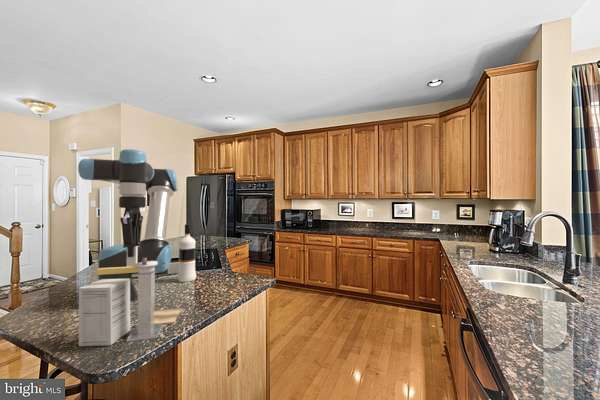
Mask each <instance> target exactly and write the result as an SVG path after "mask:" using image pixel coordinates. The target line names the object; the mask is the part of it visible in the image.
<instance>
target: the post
mask: <svg viewBox="0 0 600 400" xmlns="http://www.w3.org/2000/svg"><path fill="white" fill-rule="evenodd" d="M155 276H156V273H155V271H154V272H152V273H147V274H137V281H138V282H137V322H138V326H137V327H136V328H134V329H133V330H132V332H131V333H130V334H129V336H127V338H126V342H127V343H128V342H133V341H134V342H135V341H143V340H152V339H157V338H158V336H159V334H160V333H161V331H162V330H163V328H164V326H165V325H164V324H155V325H154V310H155V306H156V305H155V303H156V301H155V300H156V299H155V293H156V291H155V290H156V289H155V288H156V287H155V286H156V285H155V284H156V282H155V281H156V280H155V279H156V278H155Z"/></svg>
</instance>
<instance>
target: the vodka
mask: <svg viewBox="0 0 600 400" xmlns="http://www.w3.org/2000/svg"><path fill="white" fill-rule="evenodd" d="M196 243H197V242H196V240H195V238H193V237H192V236H191V224H189V223H187V224H184V236H183V237H181V238H180V239H179V240H178V273H177V277H176V278H177V281H178V282H180V283H189V282H190V283H191V282H193V281H194V280H196V279H197V272H196V245H197V244H196Z"/></svg>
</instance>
